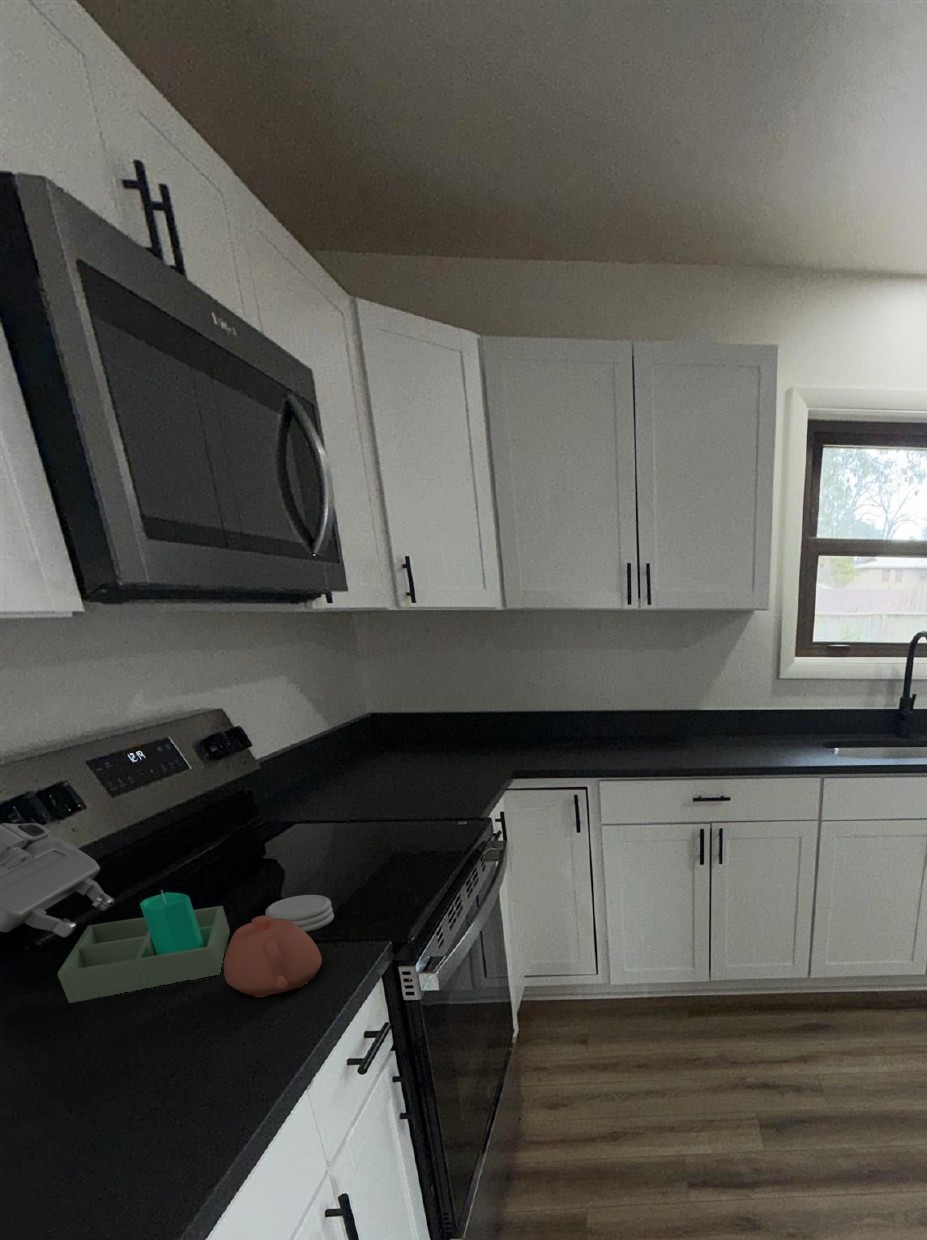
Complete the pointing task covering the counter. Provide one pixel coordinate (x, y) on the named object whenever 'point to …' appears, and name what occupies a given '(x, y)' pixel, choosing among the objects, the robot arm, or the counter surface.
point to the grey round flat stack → (303, 911)
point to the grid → (139, 957)
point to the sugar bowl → (270, 957)
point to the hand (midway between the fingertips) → (91, 918)
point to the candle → (171, 923)
